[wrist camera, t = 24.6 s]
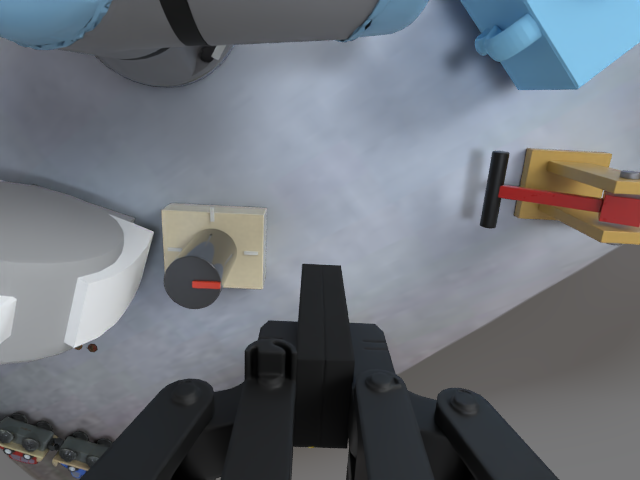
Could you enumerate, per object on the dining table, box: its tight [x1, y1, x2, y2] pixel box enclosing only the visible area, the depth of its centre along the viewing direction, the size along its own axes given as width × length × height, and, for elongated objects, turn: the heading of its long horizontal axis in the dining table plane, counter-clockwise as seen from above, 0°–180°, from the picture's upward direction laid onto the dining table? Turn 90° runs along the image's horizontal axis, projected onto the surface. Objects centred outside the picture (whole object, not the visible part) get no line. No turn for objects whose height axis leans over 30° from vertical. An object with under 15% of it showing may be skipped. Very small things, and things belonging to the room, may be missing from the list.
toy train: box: [0, 413, 112, 478], centre depth 54 cm, size 4×22×5 cm
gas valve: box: [514, 148, 640, 245], centre depth 41 cm, size 8×7×12 cm
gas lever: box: [480, 151, 640, 228], centre depth 39 cm, size 12×7×2 cm, turn 87°
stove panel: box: [161, 203, 267, 289], centre depth 46 cm, size 10×9×3 cm
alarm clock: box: [0, 180, 154, 365], centre depth 37 cm, size 18×8×20 cm, turn 70°
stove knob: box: [164, 229, 237, 309], centre depth 41 cm, size 5×5×8 cm
